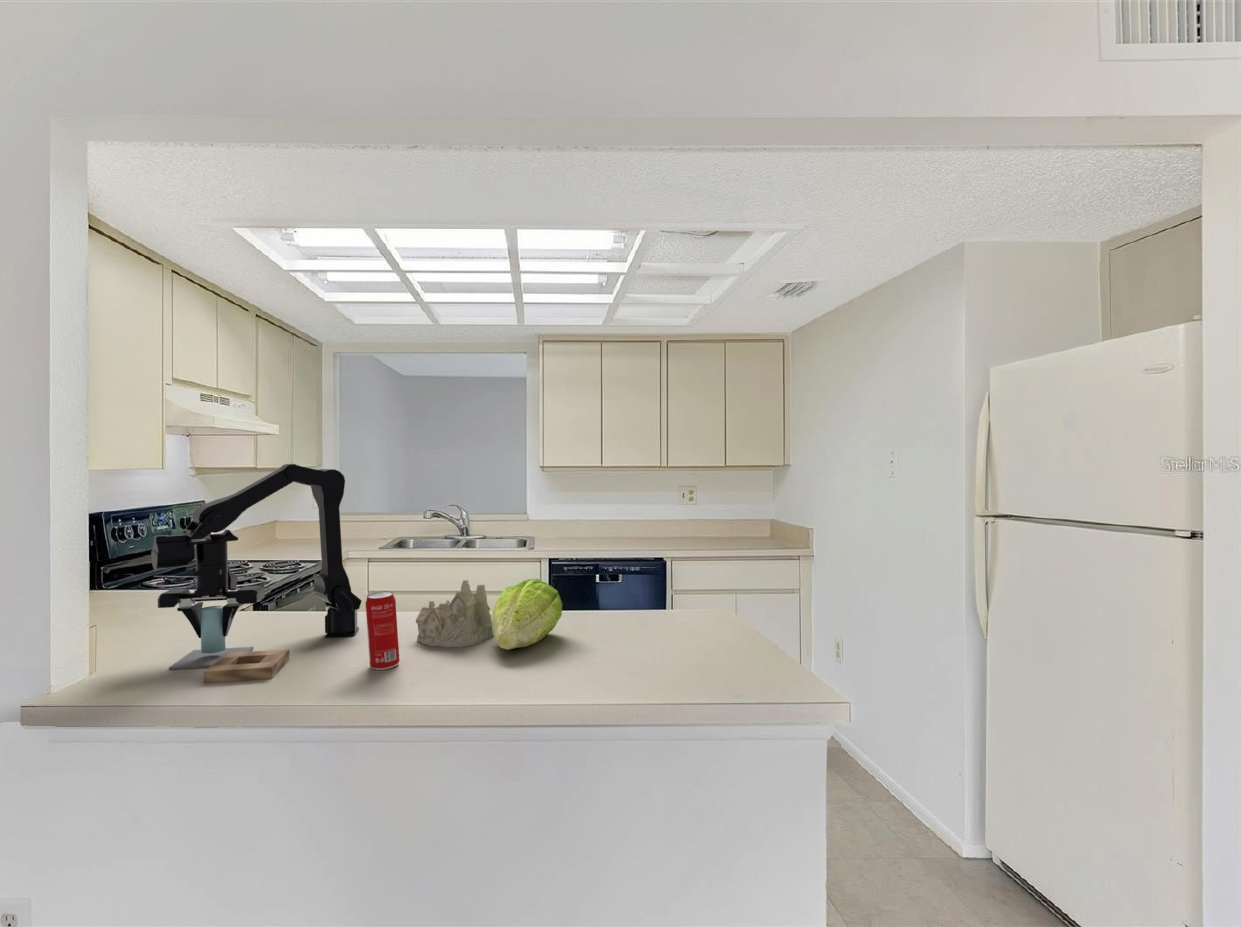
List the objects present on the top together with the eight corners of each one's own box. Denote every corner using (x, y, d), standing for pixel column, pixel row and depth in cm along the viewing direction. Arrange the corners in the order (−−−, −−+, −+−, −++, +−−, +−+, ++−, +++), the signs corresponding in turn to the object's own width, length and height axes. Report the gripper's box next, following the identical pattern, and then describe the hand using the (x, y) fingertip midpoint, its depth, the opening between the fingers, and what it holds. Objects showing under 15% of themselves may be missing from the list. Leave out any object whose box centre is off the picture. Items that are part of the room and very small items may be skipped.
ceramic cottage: (505, 632, 162) (500, 570, 162) (461, 653, 147) (455, 585, 147) (455, 628, 169) (450, 569, 169) (408, 648, 154) (402, 584, 154)
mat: (253, 648, 149) (253, 646, 149) (234, 665, 138) (234, 663, 138) (193, 652, 147) (193, 650, 147) (168, 669, 135) (168, 667, 135)
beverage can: (405, 663, 139) (404, 591, 139) (384, 673, 133) (383, 597, 133) (381, 660, 141) (380, 589, 141) (360, 669, 135) (359, 595, 134)
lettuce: (460, 627, 142) (517, 596, 138) (499, 588, 165) (548, 560, 162) (495, 684, 143) (553, 654, 139) (529, 637, 166) (579, 611, 163)
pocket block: (289, 659, 142) (289, 649, 142) (272, 678, 130) (272, 667, 130) (227, 663, 139) (226, 653, 139) (203, 683, 127) (203, 671, 127)
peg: (228, 646, 145) (227, 605, 145) (220, 652, 140) (220, 610, 140) (206, 648, 144) (205, 606, 144) (197, 654, 140) (196, 611, 139)
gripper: (271, 556, 152) (272, 624, 152) (179, 559, 148) (180, 629, 148) (255, 564, 141) (256, 638, 141) (155, 567, 137) (157, 643, 137)
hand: (213, 636), depth 142 cm, fingers closed on peg, 4 cm apart
